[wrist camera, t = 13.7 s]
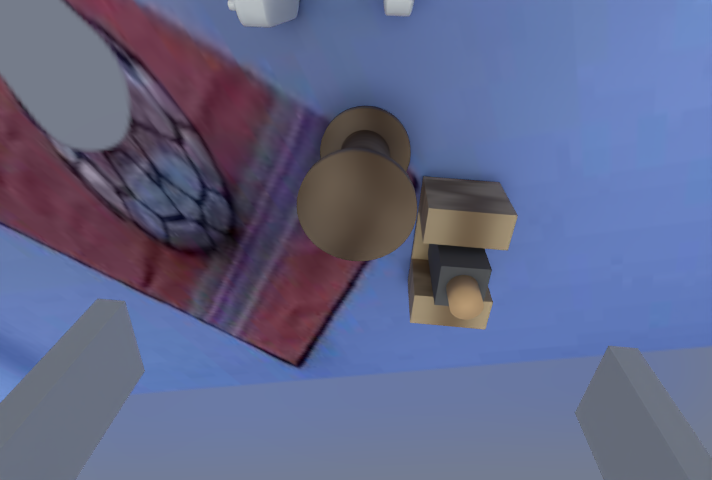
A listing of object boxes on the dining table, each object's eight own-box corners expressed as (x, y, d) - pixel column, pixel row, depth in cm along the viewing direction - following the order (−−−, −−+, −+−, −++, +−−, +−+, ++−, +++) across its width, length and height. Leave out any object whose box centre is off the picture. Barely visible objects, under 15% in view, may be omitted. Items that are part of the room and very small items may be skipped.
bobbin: (320, 187, 41) (297, 256, 31) (322, 102, 37) (295, 148, 26) (404, 194, 41) (409, 265, 30) (415, 109, 36) (425, 158, 26)
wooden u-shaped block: (407, 280, 46) (410, 322, 40) (423, 176, 40) (428, 208, 34) (473, 286, 46) (485, 329, 40) (499, 182, 39) (517, 215, 34)
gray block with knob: (427, 254, 43) (437, 324, 34) (432, 219, 41) (444, 283, 32) (467, 256, 43) (487, 328, 34) (474, 222, 41) (498, 288, 32)
